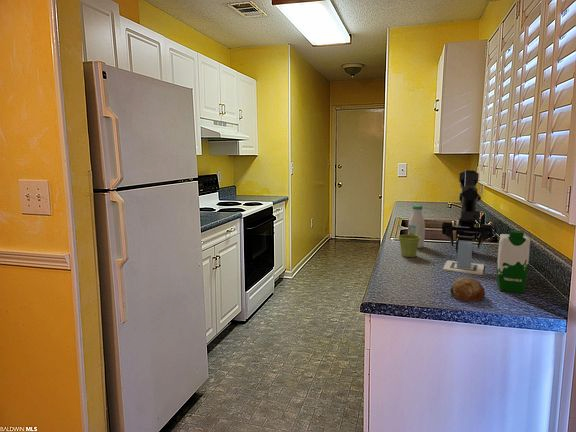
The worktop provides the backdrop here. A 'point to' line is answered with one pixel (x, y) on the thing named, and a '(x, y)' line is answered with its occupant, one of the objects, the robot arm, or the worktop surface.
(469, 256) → the blue block
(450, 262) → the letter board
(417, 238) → the plant pot
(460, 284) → the bread roll
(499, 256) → the milk carton
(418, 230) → the milk bottle
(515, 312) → the worktop surface
